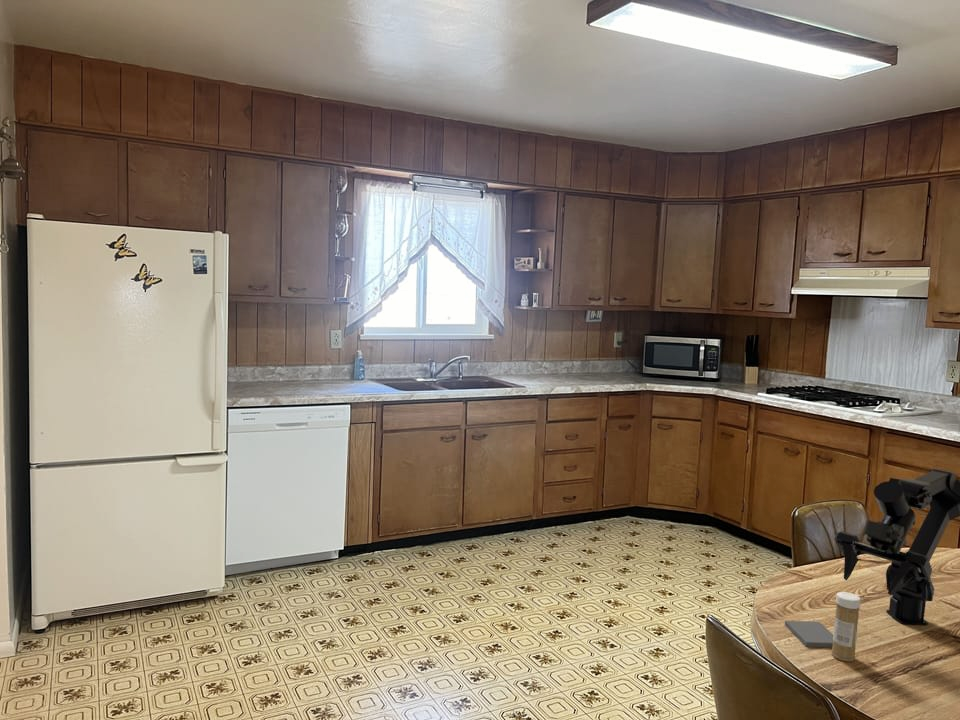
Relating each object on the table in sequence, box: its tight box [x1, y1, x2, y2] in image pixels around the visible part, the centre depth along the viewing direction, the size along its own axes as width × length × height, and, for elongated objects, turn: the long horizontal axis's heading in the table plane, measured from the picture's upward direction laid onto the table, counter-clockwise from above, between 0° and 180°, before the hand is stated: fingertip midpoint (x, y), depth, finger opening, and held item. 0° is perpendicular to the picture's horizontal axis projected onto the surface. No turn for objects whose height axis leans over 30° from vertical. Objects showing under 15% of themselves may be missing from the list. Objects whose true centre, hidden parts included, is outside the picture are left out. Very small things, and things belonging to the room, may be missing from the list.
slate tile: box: [784, 620, 834, 648], centre depth 160 cm, size 8×10×1 cm
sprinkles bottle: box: [830, 591, 862, 662], centre depth 151 cm, size 5×5×13 cm
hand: (866, 586), depth 155 cm, fingers open, 9 cm apart
